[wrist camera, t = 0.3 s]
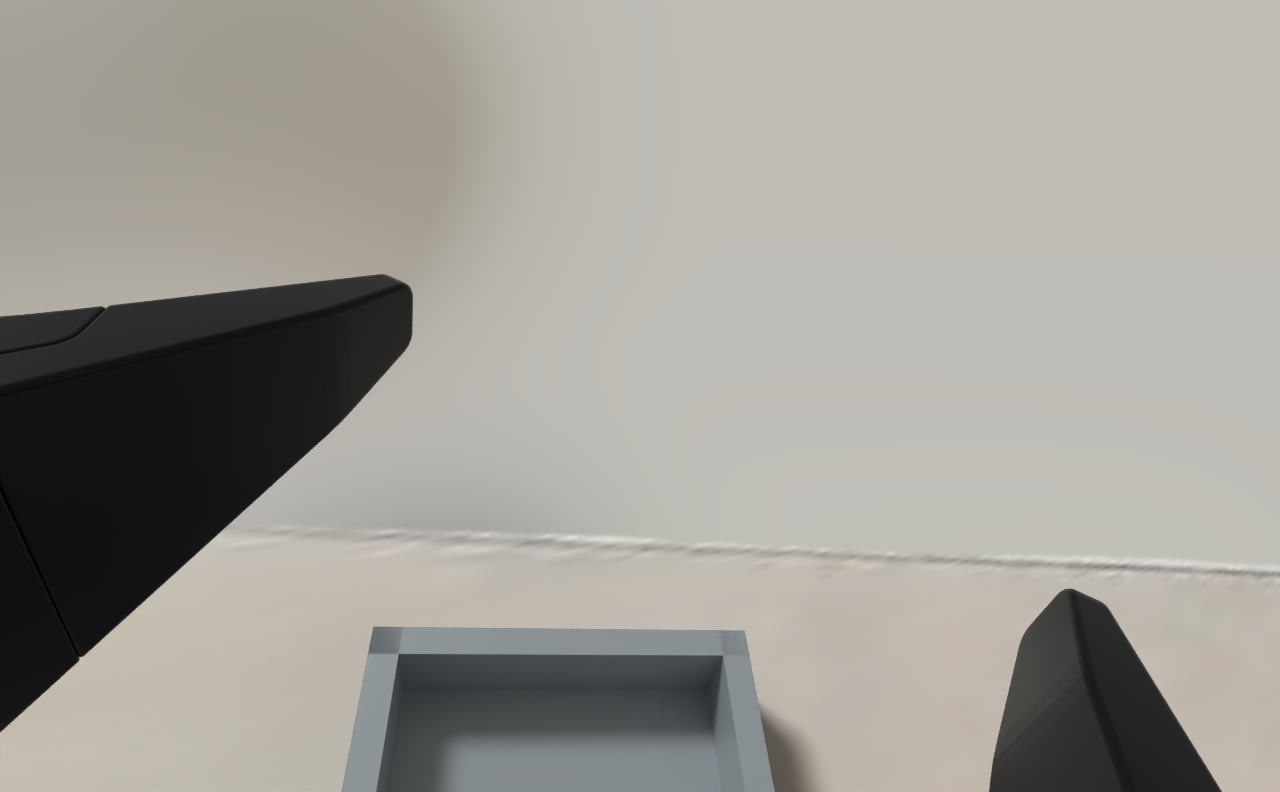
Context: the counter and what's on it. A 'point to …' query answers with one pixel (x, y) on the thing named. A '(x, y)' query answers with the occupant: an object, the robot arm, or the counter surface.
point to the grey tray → (557, 712)
